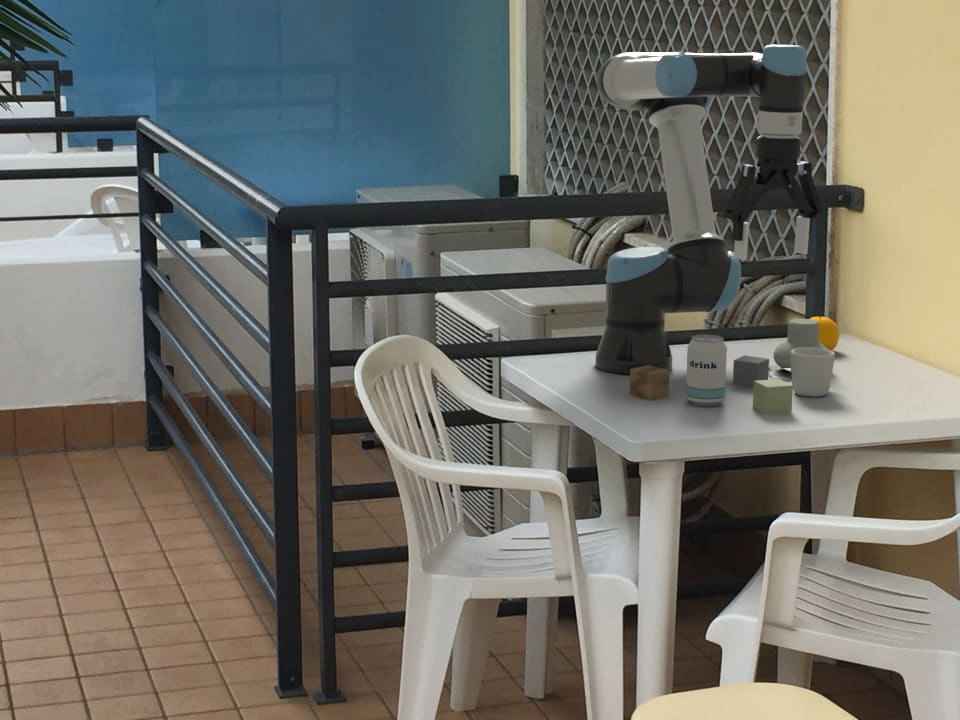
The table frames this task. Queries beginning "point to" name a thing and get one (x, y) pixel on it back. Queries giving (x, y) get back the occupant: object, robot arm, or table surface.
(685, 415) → the table surface
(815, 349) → the cup
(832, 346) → the orange
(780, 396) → the olive block
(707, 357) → the beverage can
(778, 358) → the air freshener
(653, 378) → the walnut block
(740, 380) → the charcoal block
